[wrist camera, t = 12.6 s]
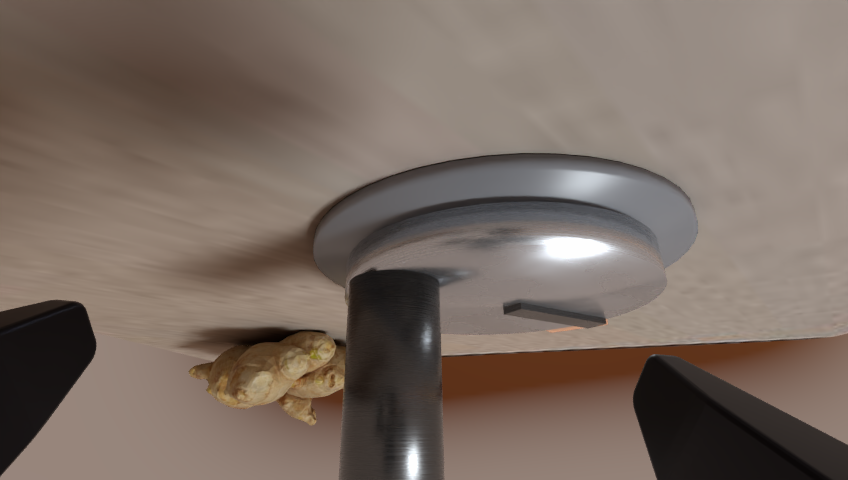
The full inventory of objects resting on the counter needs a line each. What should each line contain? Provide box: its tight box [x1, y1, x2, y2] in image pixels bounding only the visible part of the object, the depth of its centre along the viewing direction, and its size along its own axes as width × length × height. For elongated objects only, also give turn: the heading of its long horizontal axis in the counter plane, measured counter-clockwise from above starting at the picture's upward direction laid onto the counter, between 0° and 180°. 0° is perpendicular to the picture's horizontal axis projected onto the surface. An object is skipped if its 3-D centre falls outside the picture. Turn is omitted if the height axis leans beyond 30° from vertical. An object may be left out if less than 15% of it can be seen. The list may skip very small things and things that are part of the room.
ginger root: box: [189, 331, 346, 425], centre depth 41 cm, size 16×16×8 cm
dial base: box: [313, 154, 698, 333], centre depth 23 cm, size 17×18×2 cm
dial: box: [339, 201, 667, 480], centre depth 20 cm, size 14×14×11 cm
